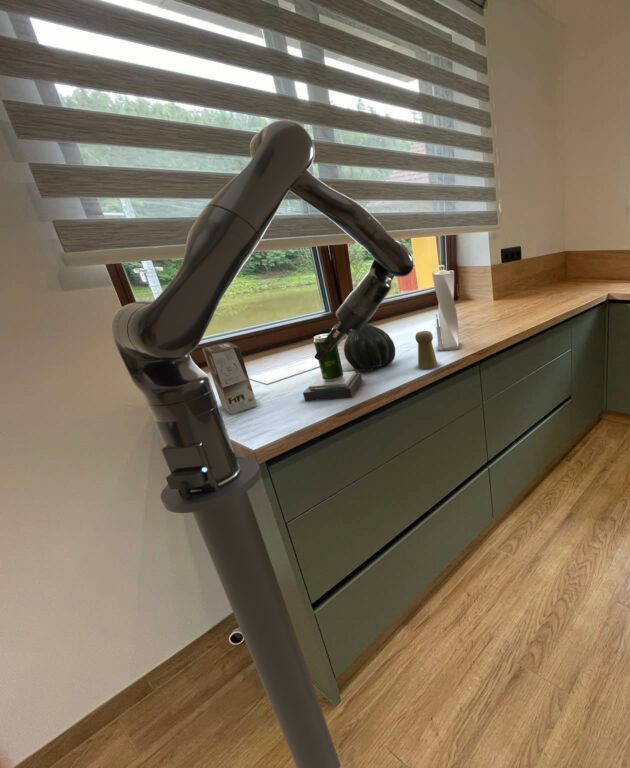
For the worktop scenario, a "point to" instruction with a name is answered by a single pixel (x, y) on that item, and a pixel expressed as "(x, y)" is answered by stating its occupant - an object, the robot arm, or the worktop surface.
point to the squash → (369, 348)
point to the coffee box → (230, 377)
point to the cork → (425, 350)
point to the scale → (333, 387)
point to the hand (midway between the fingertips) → (323, 354)
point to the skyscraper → (446, 310)
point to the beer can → (329, 361)
